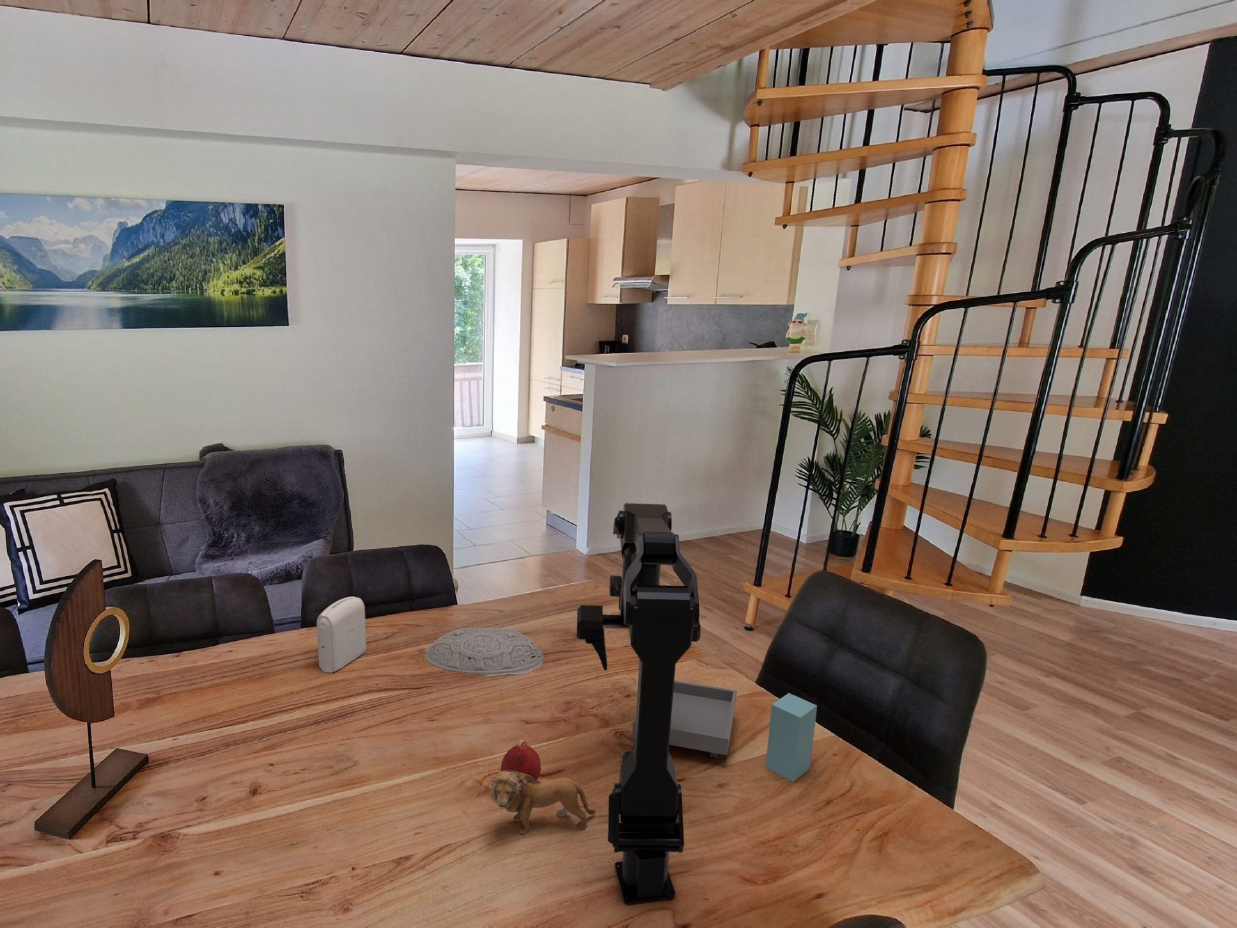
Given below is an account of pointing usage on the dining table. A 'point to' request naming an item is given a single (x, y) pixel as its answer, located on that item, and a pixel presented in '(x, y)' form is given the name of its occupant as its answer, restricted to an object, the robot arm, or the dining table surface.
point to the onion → (522, 760)
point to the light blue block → (791, 736)
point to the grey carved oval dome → (485, 652)
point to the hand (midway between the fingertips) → (634, 669)
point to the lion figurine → (537, 796)
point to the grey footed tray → (701, 717)
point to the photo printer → (341, 633)
